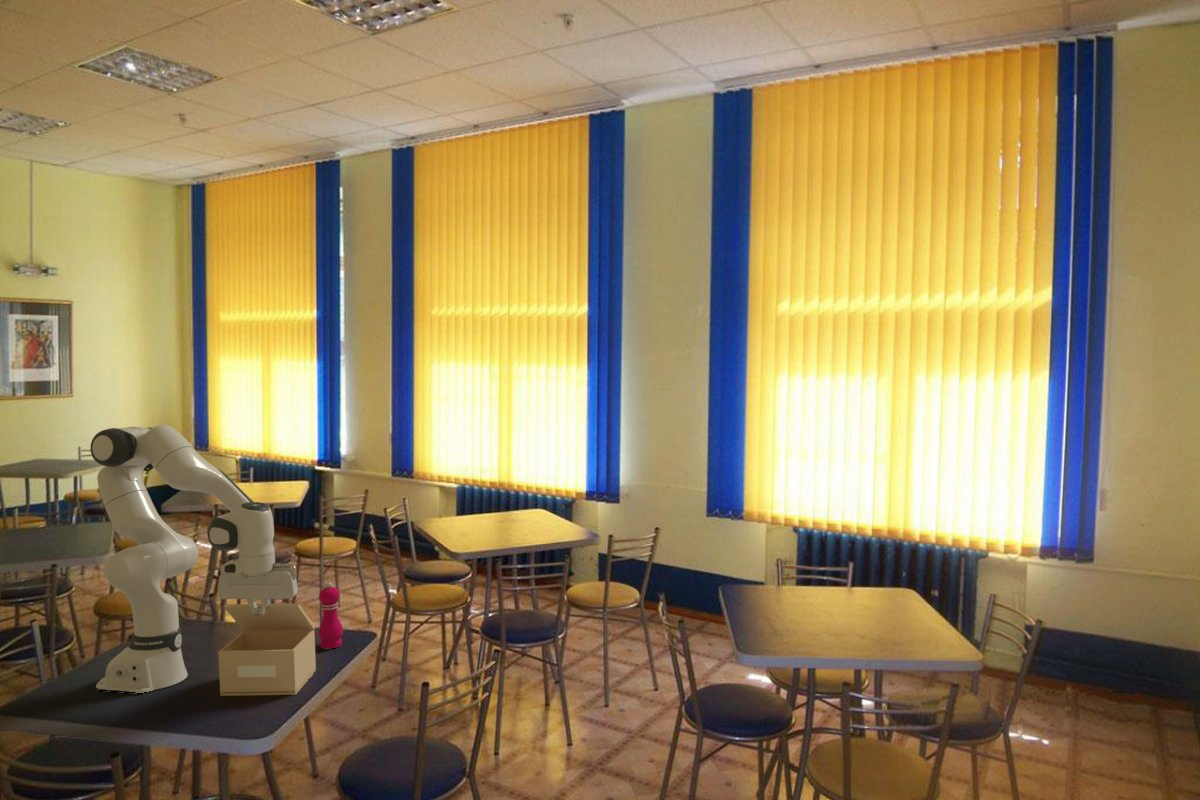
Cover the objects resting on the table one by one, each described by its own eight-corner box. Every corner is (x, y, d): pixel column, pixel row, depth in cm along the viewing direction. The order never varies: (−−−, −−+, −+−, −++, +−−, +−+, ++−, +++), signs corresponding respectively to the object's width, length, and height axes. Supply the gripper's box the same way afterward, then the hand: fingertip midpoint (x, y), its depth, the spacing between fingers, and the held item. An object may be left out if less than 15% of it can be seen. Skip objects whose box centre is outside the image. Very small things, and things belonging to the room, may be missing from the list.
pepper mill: (336, 651, 254) (333, 586, 252) (314, 649, 255) (312, 585, 254) (347, 642, 261) (345, 579, 259) (326, 641, 262) (324, 578, 261)
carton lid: (223, 607, 224) (224, 604, 225) (244, 630, 237) (244, 627, 238) (297, 606, 224) (298, 603, 225) (314, 629, 237) (315, 626, 238)
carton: (219, 696, 222) (218, 651, 221) (245, 672, 238) (243, 630, 237) (295, 694, 222) (293, 650, 221) (315, 671, 238) (314, 629, 237)
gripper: (300, 560, 226) (302, 610, 227) (225, 560, 226) (226, 610, 227) (291, 566, 220) (293, 617, 221) (214, 567, 220) (216, 618, 221)
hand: (259, 614), depth 224 cm, fingers closed, pressing on carton lid
